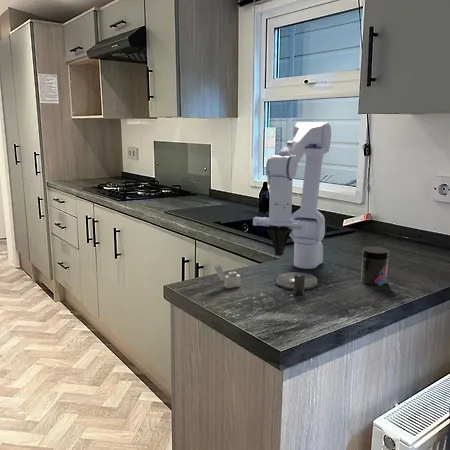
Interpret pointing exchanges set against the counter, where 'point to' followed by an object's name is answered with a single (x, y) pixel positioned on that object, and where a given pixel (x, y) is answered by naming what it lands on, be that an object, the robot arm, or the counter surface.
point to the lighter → (228, 277)
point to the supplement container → (374, 266)
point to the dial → (296, 282)
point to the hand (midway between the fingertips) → (279, 254)
